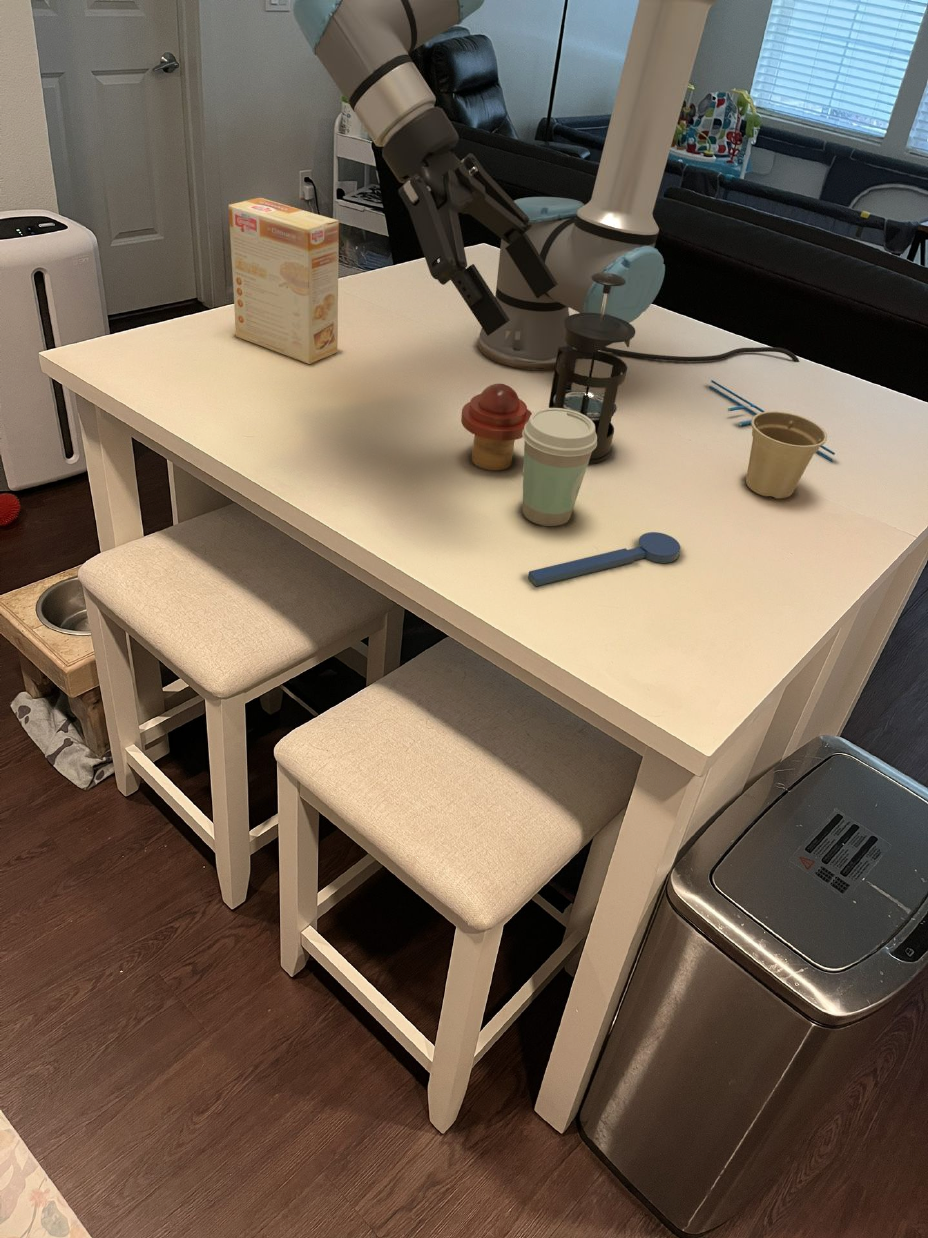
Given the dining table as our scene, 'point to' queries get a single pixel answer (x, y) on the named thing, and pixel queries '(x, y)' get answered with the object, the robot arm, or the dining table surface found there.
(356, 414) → the dining table surface
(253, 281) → the coffeecake box
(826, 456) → the chopsticks
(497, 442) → the mushroom
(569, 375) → the french press
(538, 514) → the coffee cup
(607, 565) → the spoon
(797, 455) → the flower pot
